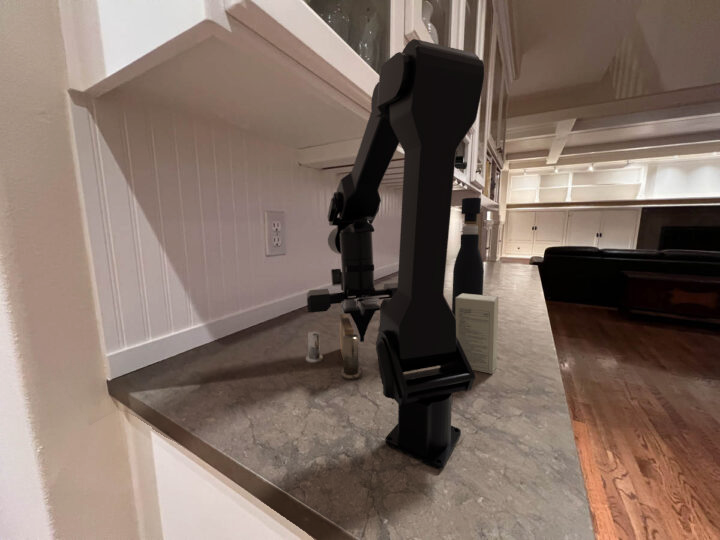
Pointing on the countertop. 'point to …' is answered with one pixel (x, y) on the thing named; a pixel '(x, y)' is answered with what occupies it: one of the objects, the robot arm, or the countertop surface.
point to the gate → (344, 329)
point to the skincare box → (478, 329)
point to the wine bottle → (468, 255)
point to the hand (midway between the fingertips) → (361, 341)
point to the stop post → (314, 348)
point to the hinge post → (350, 357)
